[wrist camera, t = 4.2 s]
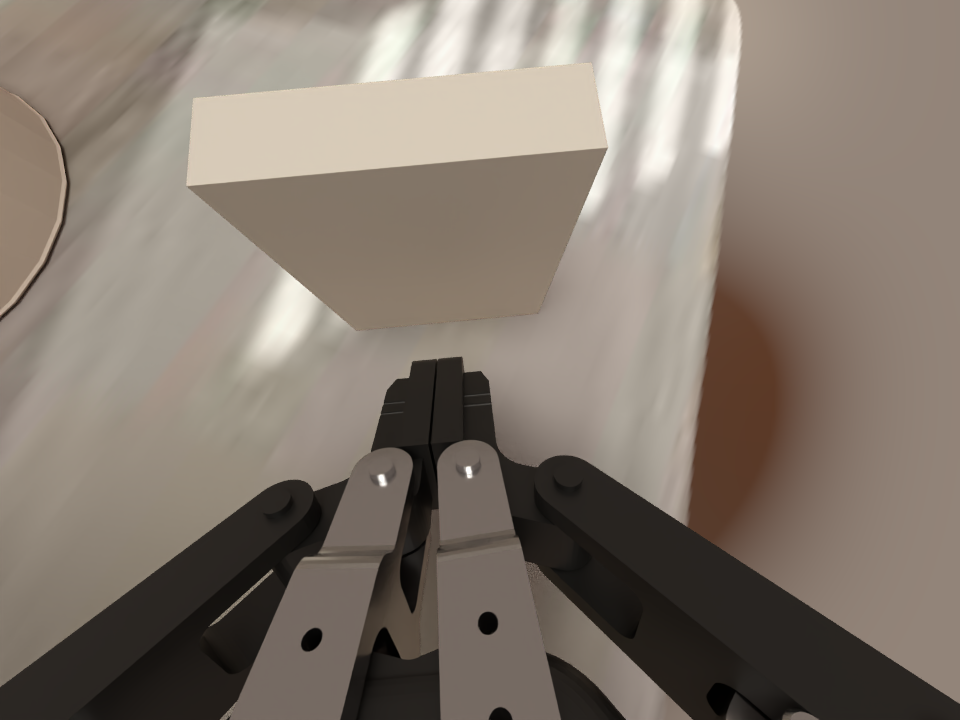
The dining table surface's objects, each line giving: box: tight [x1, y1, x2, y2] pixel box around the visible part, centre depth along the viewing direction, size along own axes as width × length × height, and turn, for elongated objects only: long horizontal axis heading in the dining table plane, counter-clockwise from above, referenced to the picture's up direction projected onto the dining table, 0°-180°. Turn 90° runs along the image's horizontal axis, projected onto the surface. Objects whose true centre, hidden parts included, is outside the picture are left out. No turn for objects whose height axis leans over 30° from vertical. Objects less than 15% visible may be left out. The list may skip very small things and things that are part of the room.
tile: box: [186, 63, 608, 331], centre depth 15 cm, size 3×10×12 cm, turn 95°
